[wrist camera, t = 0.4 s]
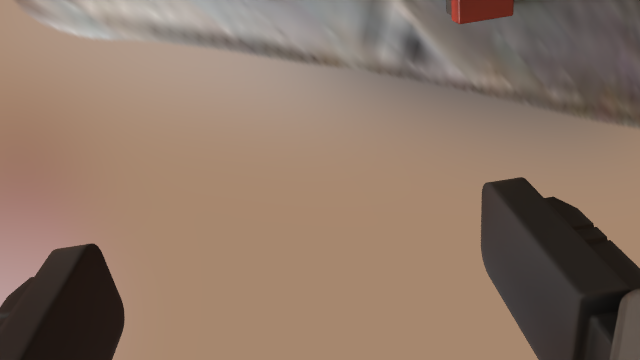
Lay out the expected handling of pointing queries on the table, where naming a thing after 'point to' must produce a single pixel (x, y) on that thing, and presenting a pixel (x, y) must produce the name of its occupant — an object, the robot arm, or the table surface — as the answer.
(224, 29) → the table surface
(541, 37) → the table surface
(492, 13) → the brush
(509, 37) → the table surface
